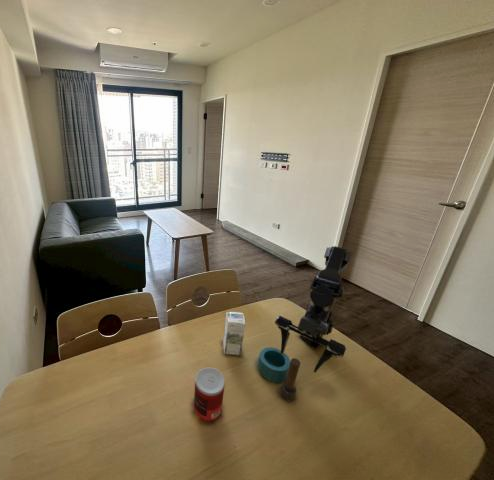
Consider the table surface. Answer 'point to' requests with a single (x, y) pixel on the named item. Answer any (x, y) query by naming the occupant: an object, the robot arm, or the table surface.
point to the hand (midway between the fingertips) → (297, 362)
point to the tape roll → (273, 364)
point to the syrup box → (233, 333)
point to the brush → (290, 381)
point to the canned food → (208, 394)
